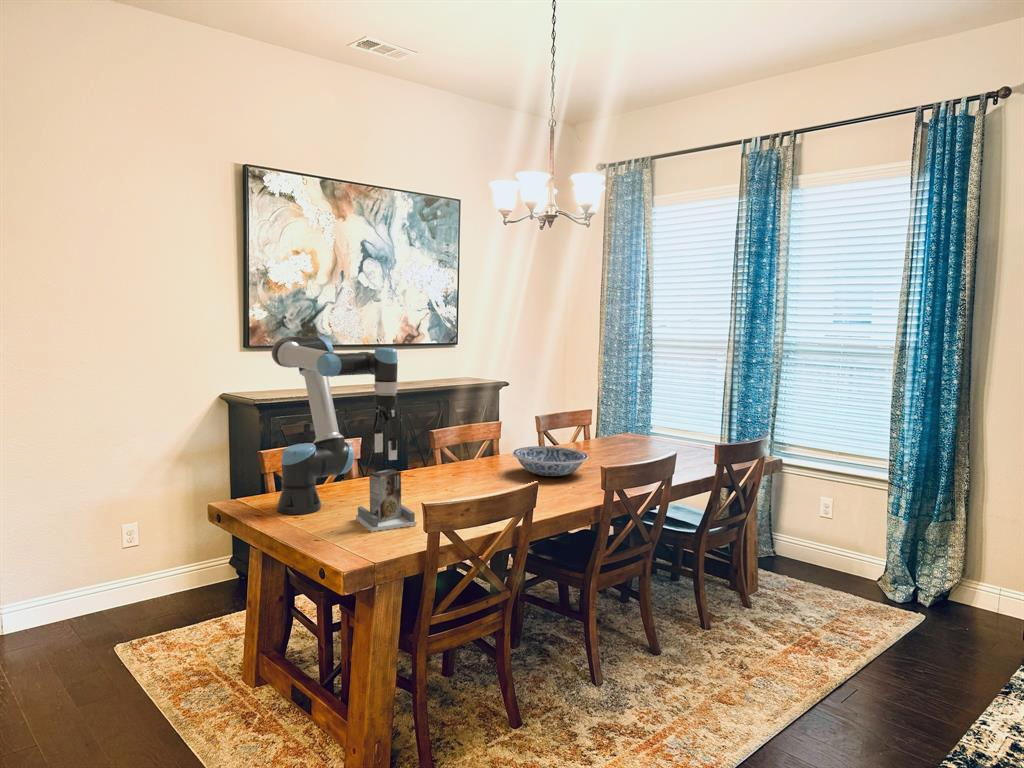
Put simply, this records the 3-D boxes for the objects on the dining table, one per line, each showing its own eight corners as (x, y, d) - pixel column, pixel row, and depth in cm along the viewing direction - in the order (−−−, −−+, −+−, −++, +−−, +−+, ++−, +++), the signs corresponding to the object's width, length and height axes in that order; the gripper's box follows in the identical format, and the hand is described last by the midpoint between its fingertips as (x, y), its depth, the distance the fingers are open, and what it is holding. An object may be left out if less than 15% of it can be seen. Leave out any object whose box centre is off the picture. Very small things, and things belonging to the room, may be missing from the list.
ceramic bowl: (560, 487, 297) (561, 464, 296) (496, 475, 318) (497, 453, 317) (601, 473, 324) (602, 452, 323) (540, 463, 345) (540, 443, 344)
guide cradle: (355, 519, 246) (355, 507, 245) (399, 513, 254) (399, 501, 253) (371, 532, 232) (371, 518, 231) (416, 525, 240) (416, 512, 240)
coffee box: (390, 513, 248) (390, 468, 247) (401, 517, 244) (401, 471, 242) (368, 518, 242) (368, 472, 240) (380, 522, 237) (380, 475, 236)
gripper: (363, 390, 247) (362, 450, 249) (388, 398, 226) (388, 463, 228) (383, 389, 251) (383, 448, 253) (410, 397, 230) (409, 461, 232)
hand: (385, 455), depth 241 cm, fingers open, 13 cm apart
